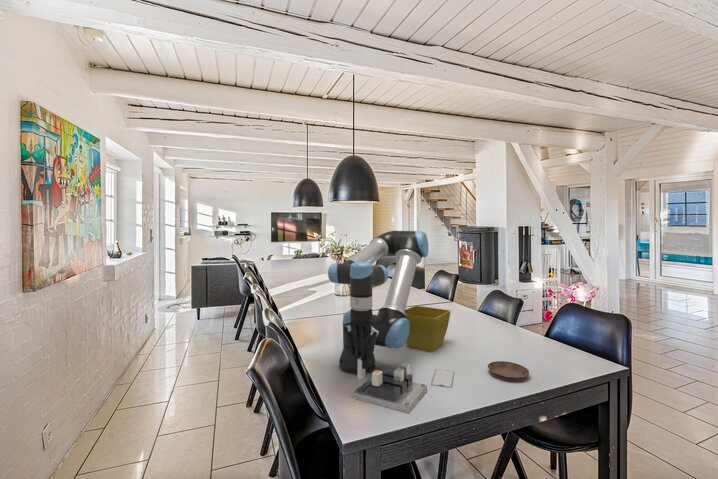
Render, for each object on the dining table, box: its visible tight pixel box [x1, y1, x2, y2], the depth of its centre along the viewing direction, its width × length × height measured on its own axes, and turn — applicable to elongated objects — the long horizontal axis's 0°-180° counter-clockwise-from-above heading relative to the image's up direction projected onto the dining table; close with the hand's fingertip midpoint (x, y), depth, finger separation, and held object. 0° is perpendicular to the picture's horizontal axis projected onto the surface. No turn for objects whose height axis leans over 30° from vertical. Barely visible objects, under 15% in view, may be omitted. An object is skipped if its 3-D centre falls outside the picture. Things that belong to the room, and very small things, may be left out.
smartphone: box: [430, 368, 455, 389], centre depth 136 cm, size 7×1×15 cm
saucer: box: [487, 360, 530, 382], centre depth 139 cm, size 15×15×3 cm
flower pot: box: [405, 305, 451, 353], centre depth 171 cm, size 19×19×17 cm
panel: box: [352, 362, 428, 414], centre depth 123 cm, size 20×17×9 cm
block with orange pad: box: [371, 369, 383, 387], centre depth 119 cm, size 2×3×4 cm
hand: (361, 377), depth 122 cm, fingers closed
